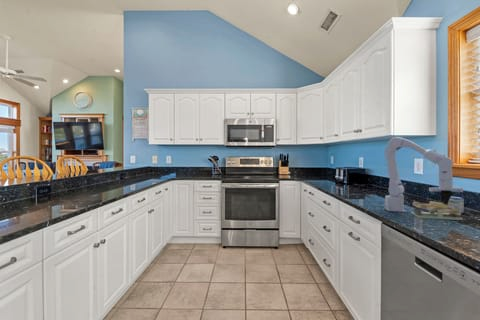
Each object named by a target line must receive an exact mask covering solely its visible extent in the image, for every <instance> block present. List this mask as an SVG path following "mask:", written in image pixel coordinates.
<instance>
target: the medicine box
mask: <svg viewBox="0 0 480 320" xmlns="http://www.w3.org/2000/svg"><path fill="white" fill-rule="evenodd" d="M464 198H465V197H459V196H453V195H452V196H451V197H450V199H449V201H448V205H447V207H448V208H454V209H456V210H459V211H461V214H463V213H464V212H465V207H464V205H465V204H464V203H465V199H464Z"/></svg>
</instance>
